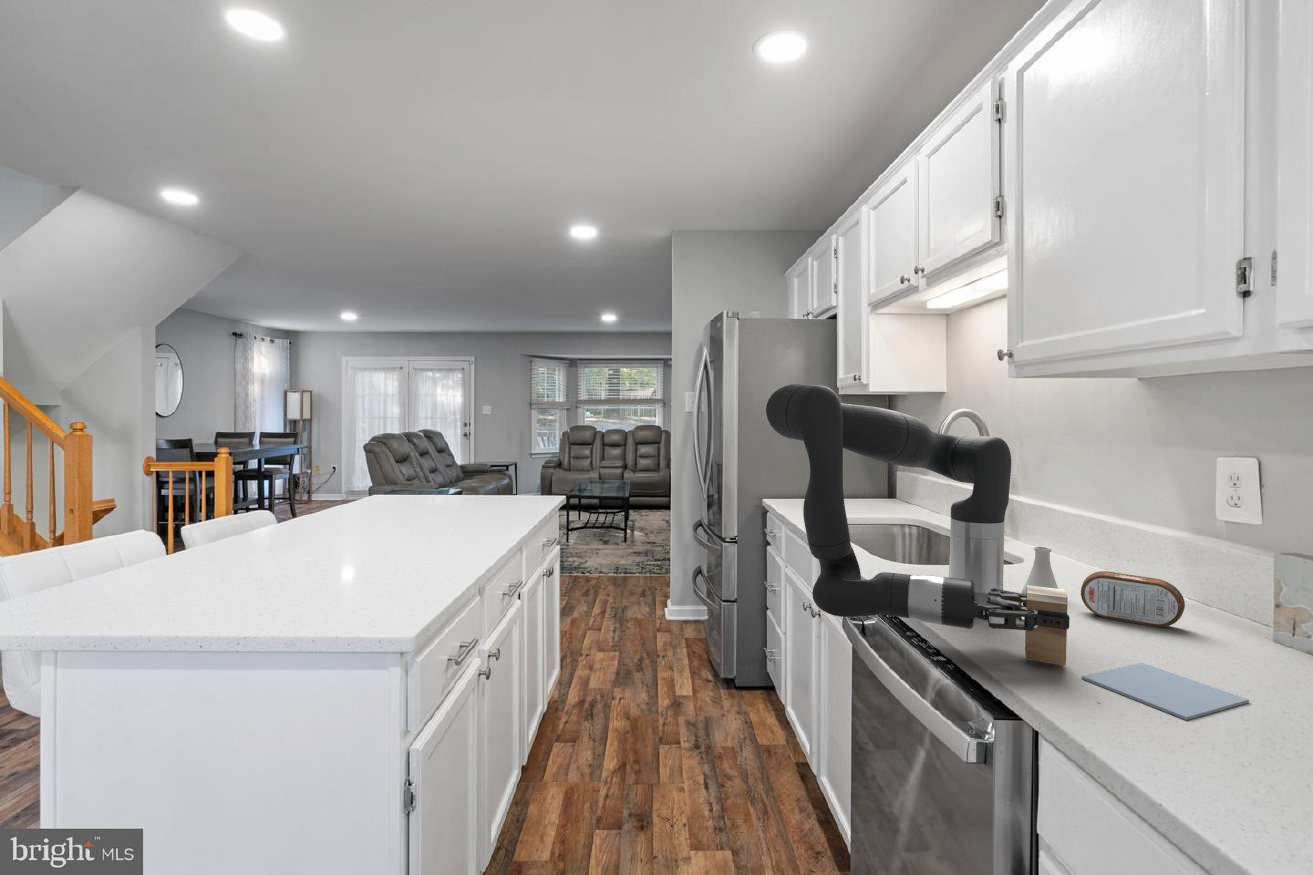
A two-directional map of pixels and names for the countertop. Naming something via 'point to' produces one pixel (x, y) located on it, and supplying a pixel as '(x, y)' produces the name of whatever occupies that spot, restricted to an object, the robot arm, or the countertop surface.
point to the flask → (1041, 570)
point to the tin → (1132, 598)
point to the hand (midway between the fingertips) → (1066, 616)
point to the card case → (1046, 640)
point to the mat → (1165, 690)
